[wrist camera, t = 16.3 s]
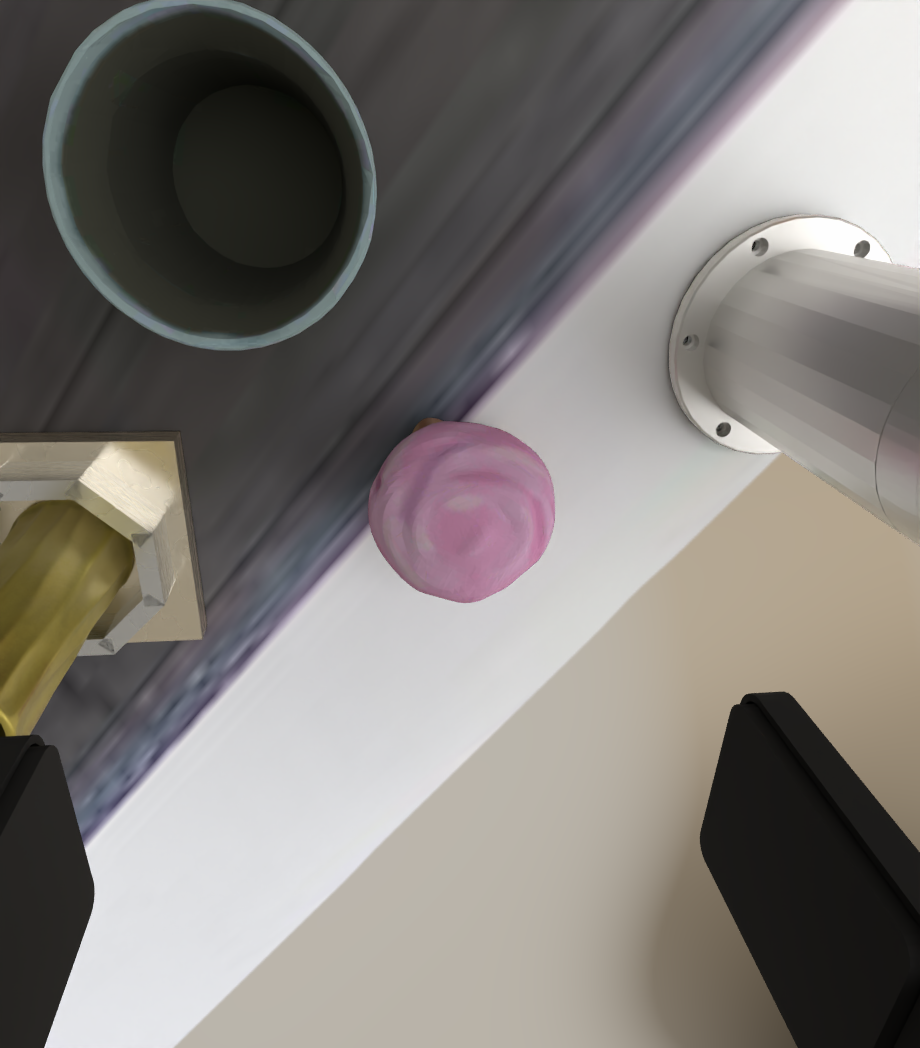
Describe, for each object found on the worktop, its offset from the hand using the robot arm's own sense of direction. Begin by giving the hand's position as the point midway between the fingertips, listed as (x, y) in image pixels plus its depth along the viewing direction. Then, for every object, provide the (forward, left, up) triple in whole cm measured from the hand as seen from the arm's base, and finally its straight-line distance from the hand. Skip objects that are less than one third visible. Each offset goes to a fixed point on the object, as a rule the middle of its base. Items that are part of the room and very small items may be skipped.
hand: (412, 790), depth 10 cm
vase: (+16, +11, -29) cm, 35 cm away
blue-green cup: (+5, -7, -31) cm, 32 cm away
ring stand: (+16, +11, -30) cm, 36 cm away
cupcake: (-4, +7, -31) cm, 32 cm away
